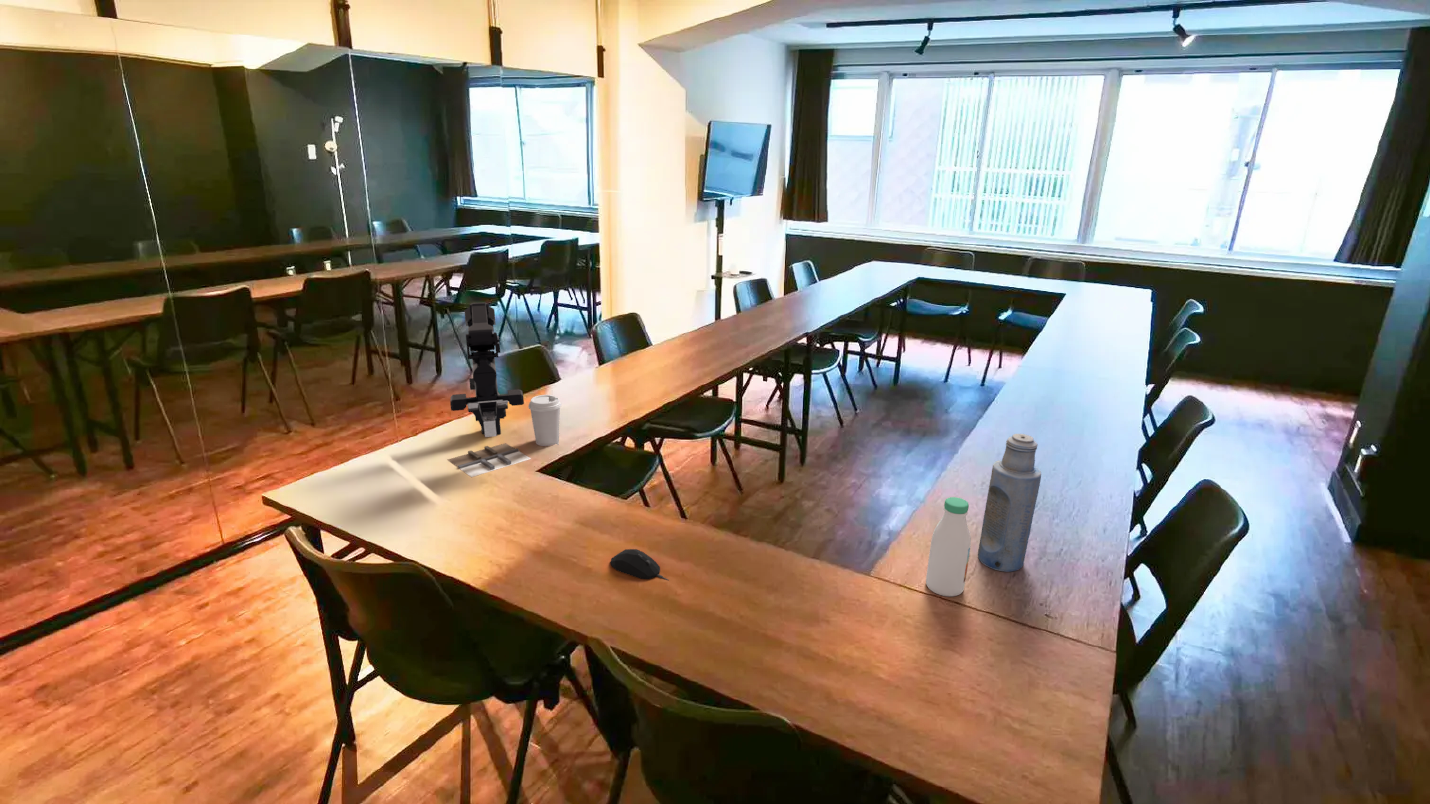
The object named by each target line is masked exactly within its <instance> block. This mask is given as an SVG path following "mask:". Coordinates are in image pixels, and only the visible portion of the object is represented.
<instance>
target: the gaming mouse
mask: <svg viewBox="0 0 1430 804" xmlns="http://www.w3.org/2000/svg"><path fill="white" fill-rule="evenodd" d="M610 566H611V568H613V569H614V570H615V571H617V572H619V573H623V574H625V575H628V576H632V577H634V578H637V579H640V580H650V579H653V578H656V577H657V578H659V579H663V580H666V581H669V580H670V579H668V578H666V577H664V576H663V575H661V574H660V572H661V566H660V565H659V564H658V563H657V562H656V561H655V559H653V558H652V557H651V556H649V555H648V554H646V553H645V552H643V551H641V550H640V549H637V548H635V549H634V548H629V549H628V548H627V549H626V548H625V549H624V550H622V551H619V553H617V554H616V555H614V556H613V557H612V558H610Z"/></svg>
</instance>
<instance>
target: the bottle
mask: <svg viewBox="0 0 1430 804" xmlns="http://www.w3.org/2000/svg"><path fill="white" fill-rule="evenodd" d="M1038 446H1039V445H1038V442H1036V441H1035V440H1034V437H1032V435H1029V434H1025V433H1014V434H1012V436H1009V437H1008V438H1007V439H1006V442H1005V449H1004V453H1003V455H1002V458H1001V459H998V460H996V461H995V462H994V463H993V464H992V469H991V473H990V474H991V475H990V480H989V484H988V485H989V486H988V491H987V498H986V502H985V509H984V515H983V520H982V527H981V532H980V538H979V544H978V552H977V558H978V559H979V561H980V562H981V564H983V565H985V566H986V567H989V568H990V569H992V570H995V571H1000V572H1005V573H1008V572H1016V571H1018V570H1019V571H1020V569H1021V568H1023V566H1024V564H1025V559H1026V553H1027V549H1028V545H1029V539H1030V535H1031V530H1032V529H1031V528H1032V523H1033V517H1034V514H1035V509H1036V503H1037V500H1038V495H1039V490H1040V487H1041V486H1040V485H1041V480H1042V471H1041V469H1040V468H1039V467H1037V466H1036V465H1035V464H1036V463H1035V461H1036V460H1035V459H1036V457H1035V456H1036V452H1037V450H1038Z"/></svg>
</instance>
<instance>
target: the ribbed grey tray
mask: <svg viewBox="0 0 1430 804" xmlns="http://www.w3.org/2000/svg"><path fill="white" fill-rule="evenodd" d="M483 448H484V449H480V450H477V451H473V450H468V451H467V453H466V454H462V455H458V456H455V457H451V458H448V459H447V461H448V462H450V463H451V464H453V465H454V466H455V467H456V468H458V469H459V470H461V471H462V472H463V473H465V474H466V475H467V476H469V477H470V478H473V477H477V476H480V475H484V474H487V473H490V472H492V471H495V470H499V469H502V468H506V467H510V466H513V465H515V464H519V463H523V462H527V461H528V460H531V459H532V458H531V457H529V456H528V455H526V454H524V453H523V452H521V451H520V449H519V448H515V447H513V446H511V445H510V444H508V443H506V442H504V443H501V444H498V445H495V446H491V447H490V446H488V445H484V446H483Z"/></svg>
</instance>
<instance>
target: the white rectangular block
mask: <svg viewBox="0 0 1430 804" xmlns="http://www.w3.org/2000/svg"><path fill="white" fill-rule="evenodd" d="M483 421H484V432H485V435H484V438H492V437H497V436H498V435H496V424H495V413H494V411H491V412H483Z"/></svg>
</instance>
